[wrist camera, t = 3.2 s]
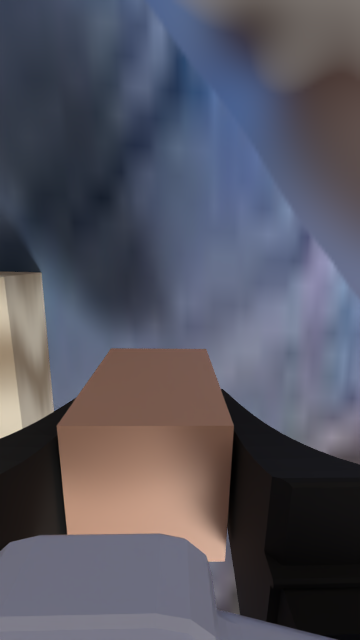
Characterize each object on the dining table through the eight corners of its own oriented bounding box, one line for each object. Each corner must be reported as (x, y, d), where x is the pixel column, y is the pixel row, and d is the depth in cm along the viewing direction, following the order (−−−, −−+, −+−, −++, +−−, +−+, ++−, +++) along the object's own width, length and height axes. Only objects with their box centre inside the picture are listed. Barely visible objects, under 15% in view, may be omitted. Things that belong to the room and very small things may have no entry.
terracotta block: (202, 432, 14) (224, 561, 8) (114, 432, 14) (70, 564, 8) (205, 349, 13) (233, 425, 7) (111, 348, 13) (56, 425, 7)
